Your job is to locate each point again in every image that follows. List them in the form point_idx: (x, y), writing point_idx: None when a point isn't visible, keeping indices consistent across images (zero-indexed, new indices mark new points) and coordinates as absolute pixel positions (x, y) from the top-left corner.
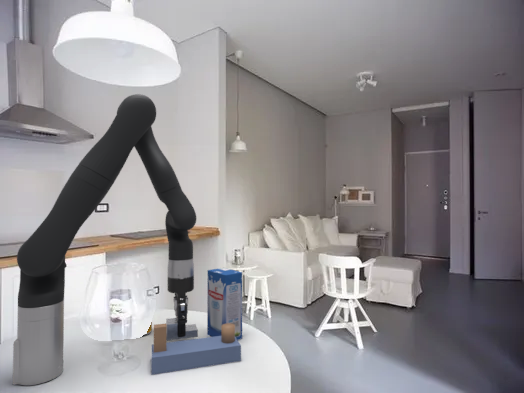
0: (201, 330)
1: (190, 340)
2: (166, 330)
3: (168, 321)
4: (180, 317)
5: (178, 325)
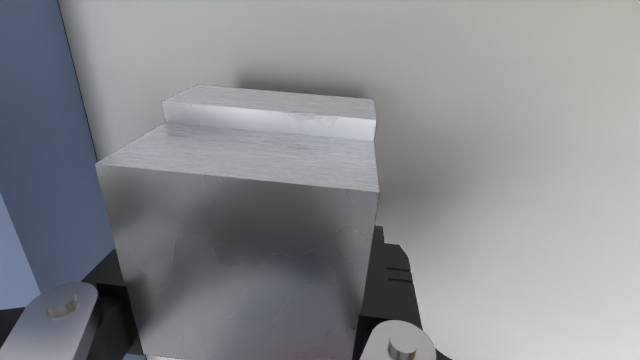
0: (466, 341)
1: (15, 271)
2: (264, 128)
3: (235, 201)
4: (350, 352)
5: (108, 278)
